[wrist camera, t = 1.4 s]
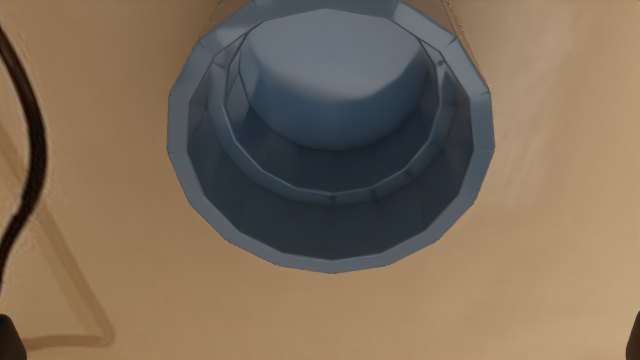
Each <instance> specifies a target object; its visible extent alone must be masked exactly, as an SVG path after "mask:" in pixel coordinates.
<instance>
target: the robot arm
mask: <svg viewBox="0 0 640 360" xmlns="http://www.w3.org/2000/svg"><path fill="white" fill-rule="evenodd" d="M0 360H27V354H26V350H25V348H24V345H23V343H22V341H21V339H20V337H19V335H18V333H17V330H16V328H15V326H14V324H13V322H12V320H11V318H9V317H8V316H7V315H4V314H0ZM626 360H640V311H639V312H638V314H637V316H636V319H635V322H634V325H633V328H632V331H631V334H630V337H629V340H628V343H627V347H626Z"/></svg>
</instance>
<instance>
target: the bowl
mask: <svg viewBox="0 0 640 360" xmlns="http://www.w3.org/2000/svg"><path fill="white" fill-rule="evenodd" d="M494 149H495V137H494V126H493V114H492V102H491V92H490V90H489V87H488V84H487V82H486V80H485V78H484V76H483V74H482V72H481V70H480V67H479V65H478V63H477V61H476V59H475V57H474V55H473V52H472V50H471V48H470V46H469V44H468V42H467V40H466V38H465V35H464V33H463V31H462V29H461V27H460V25H459V23H458V20H457V18H456V17H455V15H454V13H453V12H452V10H451V8H450V7H449V5H448V3H447V2H446V0H221V1H220V3H219V4H218V6H217V8H216V9H215V11H214V13H213V14H212V16H211V18H210V19H209V21H208V23H207V24H206V26H205V28H204V30H203V31H202V33H201V35H200V36H199V38H198V40H197V41H196V43H195V45H194V47H193V49H192V51H191V53H190V54H189V56H188V58H187V60H186V62H185V64H184V66H183V68H182V70H181V71H180V73H179V75H178V77H177V79H176V81H175V83H174V85H173V87H172V88H171V90H170V92H169V96H168V123H167V151H168V156H169V158H170V160H171V163H172V165H173V167H174V170H175V172H176V174H177V177H178V179H179V181H180V184H181V186H182V188H183V191H184V193H185V195H186V198H187V200H188V202H189V203H190V205H191V206H192V207H193V208H194V209H195V210H196V211H197V212H198V213H199V214H200V215H201V216H202V217H203V218H204V219H205V220H206V221H207V222H208V223H209V224H210V225H211V226H212V227H213V228H214V229H215V230H216V231H217V232H218V233H219V234H220V235H221V236H222V237H223V238H224V239H225V240H227V241H228V242H229V243H231V244H234V245H236V246H238V247H240V248H242V249H244V250H246V251H248V252H250V253H252V254H254V255H256V256H258V257H260V258H262V259H264V260H266V261H268V262H270V263H272V264H275V265H277V264H278V266H282V267H289V268H295V269H302V270H309V271H315V272H322V273H328V274H331V273H333V274H336V273H343V272H349V271H356V270H363V269H370V268H377V267H383V266H386V265H390V264H392V263H394V262H396V261H398V260H400V259H402V258H404V257H407V256H409V255H411V254H413V253H415V252H417V251H419V250H421V249H423V248H425V247H427V246H429V245H431V244H433V243H435V242H436V240H439V239H440V238H441V237H442V236H443V235H444V234H445V233H446V232H447V231H448V230H449V228H450V227H451V226H452V225H453V224H454V223H455V222H456V221H457V220H458V219H459V218H460V217H461V216H462V215H463V214H464V213H465V212H466V211H467V210H468V209H469V208H470V207H471V206H472V205H473V204H474V201H475V200H476V199H477V196H478V193H479V191H480V188H481V185H482V183H483V180H484V178H485V175H486V172H487V170H488V167H489V164H490V162H491V159H492V157H493V154H494V151H495V150H494Z"/></svg>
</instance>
